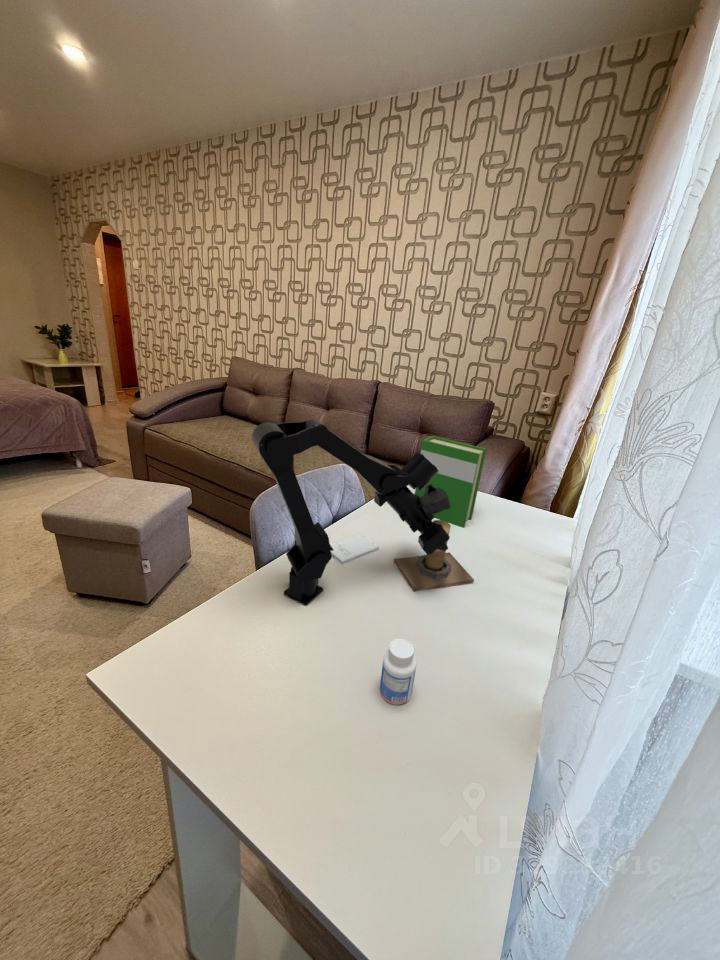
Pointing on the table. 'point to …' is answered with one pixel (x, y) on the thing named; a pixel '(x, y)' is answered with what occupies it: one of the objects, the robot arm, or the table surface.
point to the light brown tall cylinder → (437, 552)
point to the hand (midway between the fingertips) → (442, 544)
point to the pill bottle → (398, 672)
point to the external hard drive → (352, 548)
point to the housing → (432, 573)
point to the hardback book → (454, 476)
